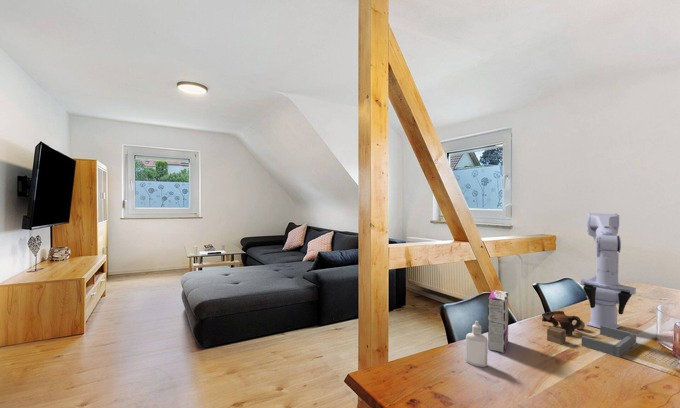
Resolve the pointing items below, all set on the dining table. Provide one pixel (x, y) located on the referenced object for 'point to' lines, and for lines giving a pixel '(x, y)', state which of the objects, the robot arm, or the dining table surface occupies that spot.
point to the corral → (615, 350)
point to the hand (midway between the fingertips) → (606, 310)
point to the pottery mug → (562, 321)
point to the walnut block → (556, 335)
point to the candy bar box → (498, 321)
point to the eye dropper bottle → (476, 347)
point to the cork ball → (581, 324)
